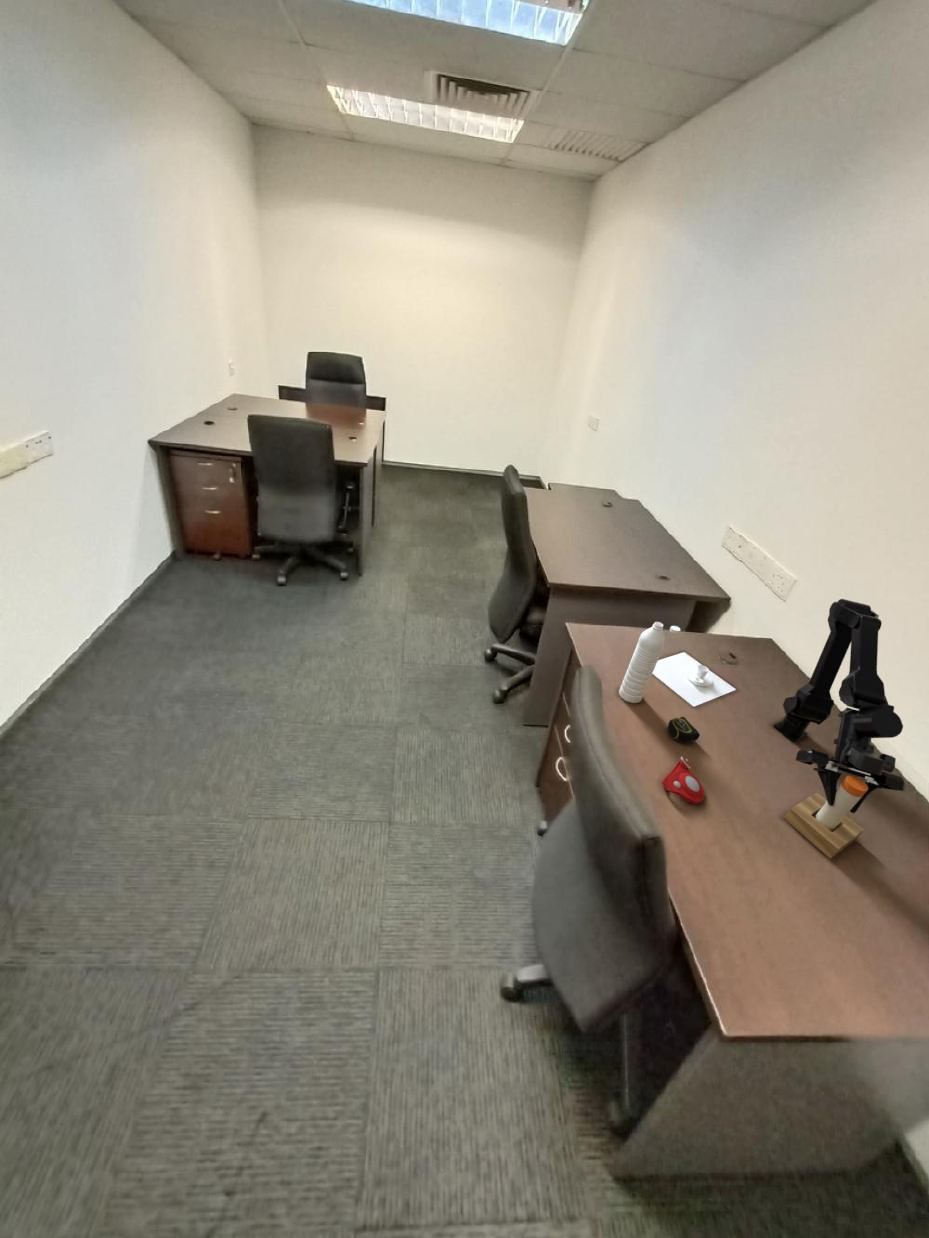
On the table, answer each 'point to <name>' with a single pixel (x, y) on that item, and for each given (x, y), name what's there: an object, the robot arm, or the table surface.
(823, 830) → the holder
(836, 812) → the glue stick
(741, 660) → the table surface
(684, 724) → the tape measure
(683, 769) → the tracker holder
